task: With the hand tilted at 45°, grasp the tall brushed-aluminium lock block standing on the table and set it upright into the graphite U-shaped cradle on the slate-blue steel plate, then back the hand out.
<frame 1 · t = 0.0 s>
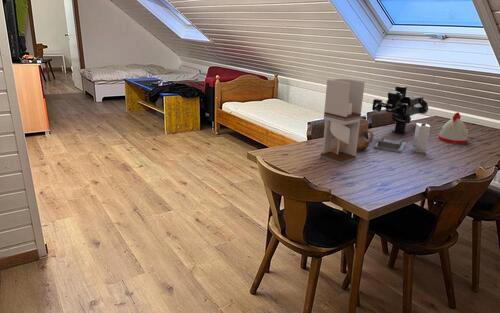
hand: (382, 109, 203), 17 cm above the table, tool horizontal, fingers open, 9 cm apart
door stopper: (358, 138, 211), on the table
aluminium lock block: (419, 150, 194), on the table
ceramic jug: (353, 149, 194), on the table
display case: (337, 159, 179), on the table
cream and red dome: (452, 140, 214), on the table
coupler cradle: (390, 146, 199), on the table
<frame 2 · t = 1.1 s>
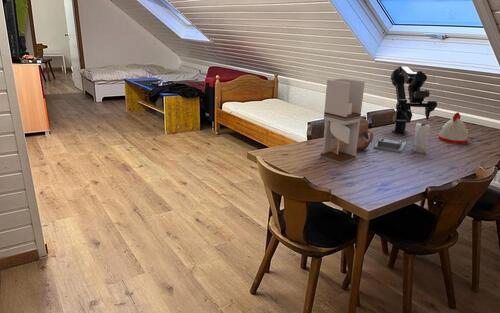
hand: (418, 119, 197), 14 cm above the table, tool tilted 45°, fingers open, 9 cm apart
nothing on the table moved.
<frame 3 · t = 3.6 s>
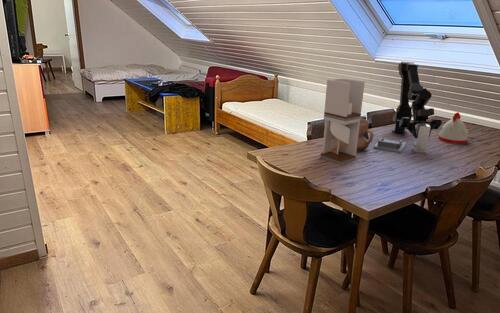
hand: (422, 138, 190), 7 cm above the table, tool tilted 45°, fingers closed on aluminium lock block, 5 cm apart
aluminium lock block: (419, 150, 194), on the table, touching gripper
everything else where it was.
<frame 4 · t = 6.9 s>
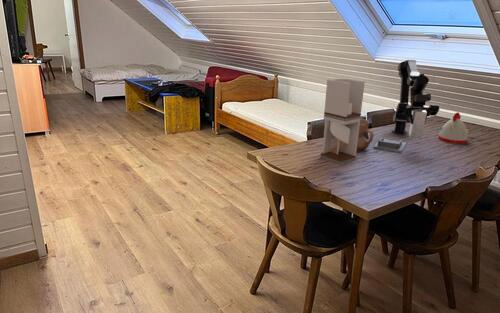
hand: (418, 124, 188), 13 cm above the table, tool tilted 45°, fingers closed on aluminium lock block, 5 cm apart
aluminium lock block: (414, 136, 192), point 7 cm above the table, touching gripper
everything else where it was.
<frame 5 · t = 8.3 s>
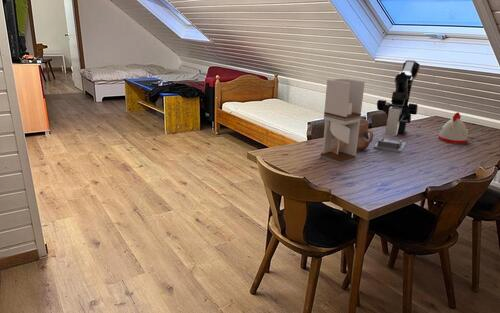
hand: (393, 121, 193), 13 cm above the table, tool tilted 45°, fingers closed on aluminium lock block, 5 cm apart
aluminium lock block: (391, 133, 196), point 7 cm above the table, touching gripper
everything else where it was.
when the fingers open (9 cm above the table, at t = 9.8 s): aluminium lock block drops 1 cm, resting on coupler cradle.
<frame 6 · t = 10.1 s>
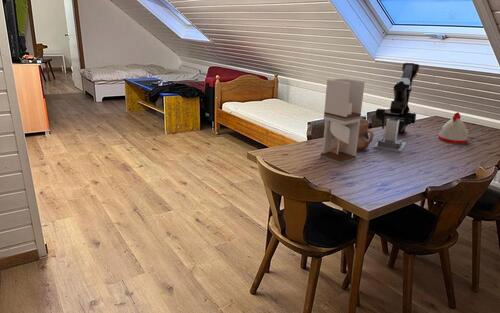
hand: (391, 130, 194), 9 cm above the table, tool tilted 45°, fingers open, 8 cm apart
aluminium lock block: (389, 144, 198), point 1 cm above the table, touching coupler cradle
everything else where it was.
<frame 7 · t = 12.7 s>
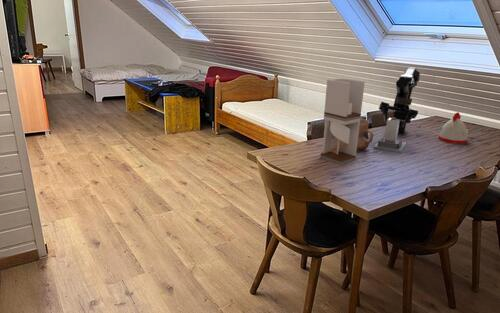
hand: (394, 124, 203), 9 cm above the table, tool tilted 35°, fingers open, 9 cm apart
nothing on the table moved.
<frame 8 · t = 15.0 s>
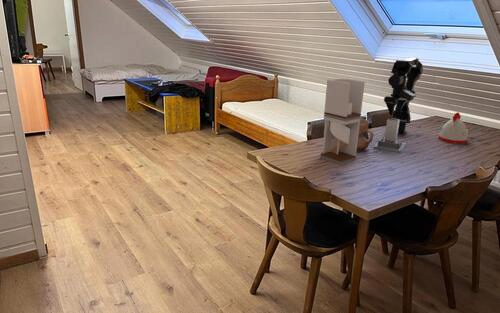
hand: (395, 113, 211), 13 cm above the table, tool pointing down, fingers open, 9 cm apart
nothing on the table moved.
at the end: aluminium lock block 0.1 cm from the target spot on the coupler cradle, point 1.0 cm above the coupler cradle's base; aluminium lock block tilted 0°; the gripper is holding nothing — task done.
